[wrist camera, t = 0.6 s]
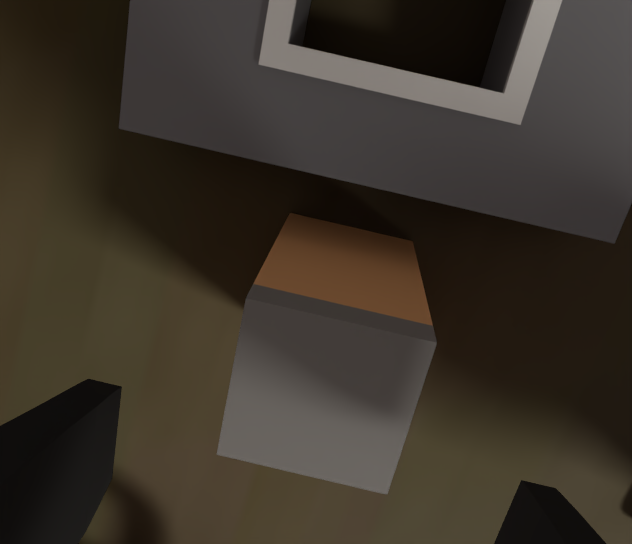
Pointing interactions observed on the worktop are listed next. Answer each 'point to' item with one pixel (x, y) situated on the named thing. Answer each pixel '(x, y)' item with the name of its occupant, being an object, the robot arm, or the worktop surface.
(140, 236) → the worktop surface
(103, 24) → the worktop surface
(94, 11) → the worktop surface
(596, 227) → the socket block
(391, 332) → the plug
